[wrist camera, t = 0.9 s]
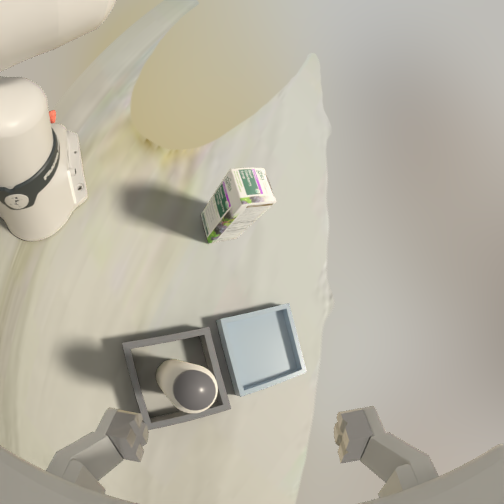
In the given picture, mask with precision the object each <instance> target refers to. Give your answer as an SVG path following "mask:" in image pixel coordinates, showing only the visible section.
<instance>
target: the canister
mask: <svg viewBox="0 0 504 504" xmlns="http://www.w3.org/2000/svg"><path fill="white" fill-rule="evenodd" d="M156 381H157V384H158V385H159V387H160V388H161V390H162V391H163V392H164V394H165V395H166V396H167V397H168V399H169V400H170V401H171V402H172V404H173V405H174V406H175V407H176V408H178V409H179V410H181V411H183V412H186V413H200V412H203V411H205V410H207V409H208V408H209V407H210V406H211V405H212V404H213V403H214V401H215V399H216V397H217V393H218V386H217V382H216V379H215V377H214V376H213V374H212V373H211V372H210V371H209V370H208V369H206V368H204V367H202V366H200V365H196V364H192V363H188V362H184V361H180V360H176V359H171V360H167V361H165V362H163V363H162V364H161V365H160V366H159V367H158V369H157V372H156Z"/></svg>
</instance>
